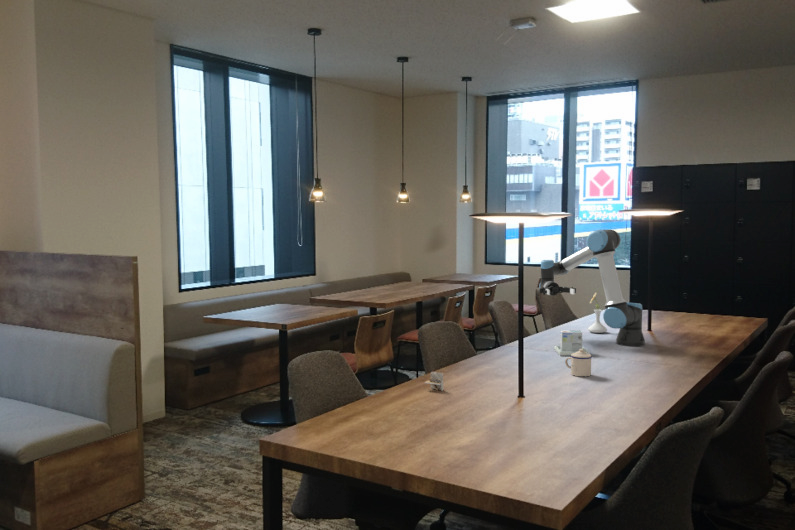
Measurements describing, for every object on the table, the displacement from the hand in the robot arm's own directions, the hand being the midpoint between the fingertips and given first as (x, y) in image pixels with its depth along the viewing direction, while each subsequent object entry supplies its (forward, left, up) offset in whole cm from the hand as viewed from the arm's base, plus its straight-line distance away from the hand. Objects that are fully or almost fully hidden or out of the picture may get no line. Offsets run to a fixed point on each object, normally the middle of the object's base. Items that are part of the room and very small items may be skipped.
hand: (561, 292), depth 369 cm
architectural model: (+68, +95, -31) cm, 120 cm away
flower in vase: (-30, -45, -30) cm, 62 cm away
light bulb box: (-2, +17, -29) cm, 34 cm away
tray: (-2, +17, -30) cm, 34 cm away
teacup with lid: (+4, +66, -30) cm, 72 cm away
